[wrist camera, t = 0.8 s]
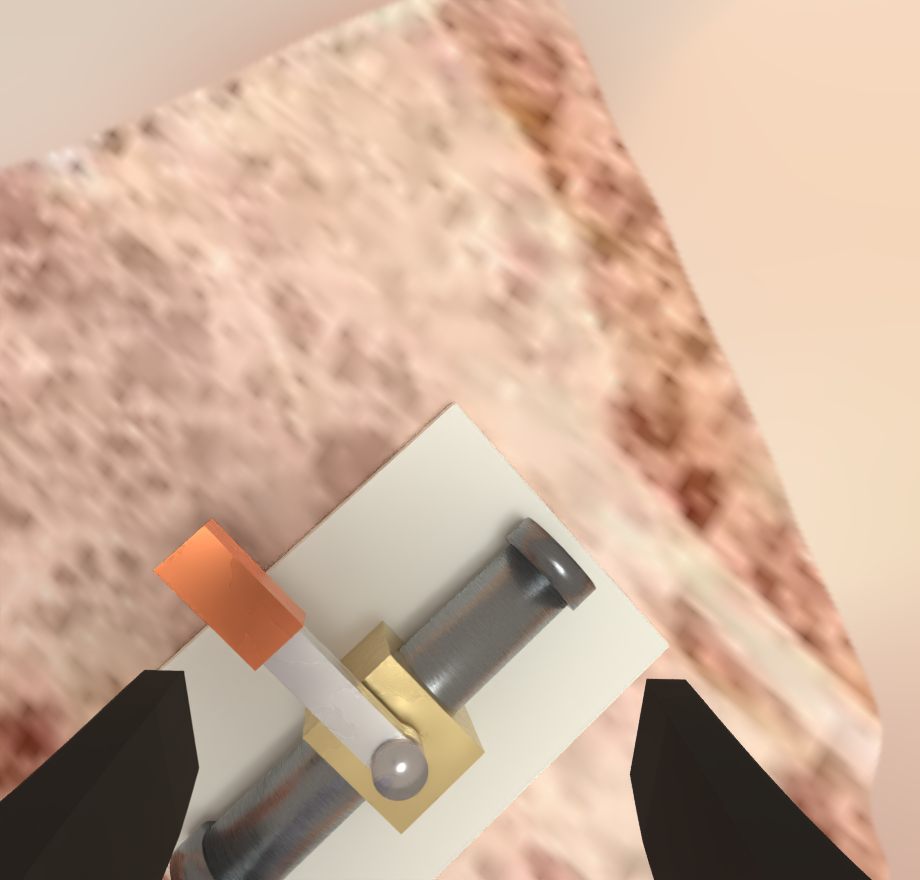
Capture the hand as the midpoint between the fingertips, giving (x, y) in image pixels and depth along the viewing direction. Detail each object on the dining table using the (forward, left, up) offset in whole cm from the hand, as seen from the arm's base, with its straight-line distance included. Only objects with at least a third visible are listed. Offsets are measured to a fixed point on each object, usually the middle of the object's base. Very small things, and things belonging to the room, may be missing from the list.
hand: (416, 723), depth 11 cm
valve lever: (-4, -1, -13) cm, 14 cm away
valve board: (-4, -5, -18) cm, 19 cm away
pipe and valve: (-4, -5, -18) cm, 19 cm away
